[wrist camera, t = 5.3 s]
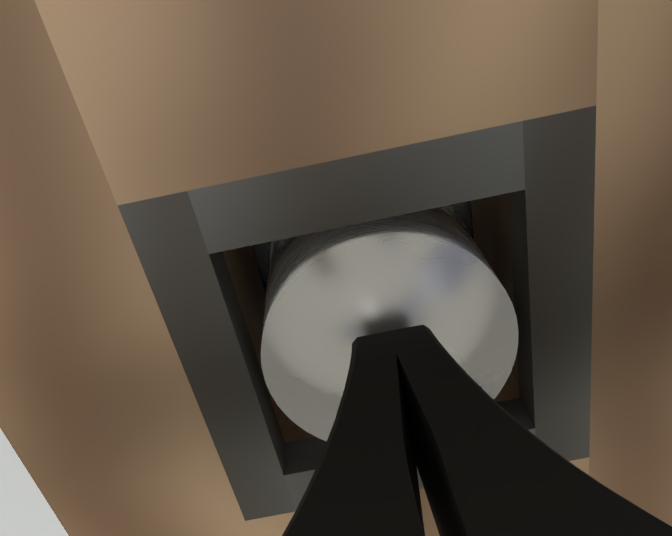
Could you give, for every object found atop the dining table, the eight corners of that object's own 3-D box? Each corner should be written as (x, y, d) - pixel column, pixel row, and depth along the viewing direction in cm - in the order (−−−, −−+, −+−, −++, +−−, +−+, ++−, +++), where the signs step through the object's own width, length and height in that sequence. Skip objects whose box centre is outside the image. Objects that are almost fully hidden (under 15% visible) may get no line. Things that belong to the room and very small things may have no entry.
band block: (683, -186, 12) (920, -278, 7) (640, 406, 19) (743, 539, 15) (-68, -15, 12) (-274, -3, 8) (174, 494, 20) (138, 646, 15)
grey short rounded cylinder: (450, 141, 14) (512, 213, 10) (468, 313, 16) (523, 426, 12) (248, 183, 14) (229, 270, 10) (294, 347, 16) (293, 469, 12)
